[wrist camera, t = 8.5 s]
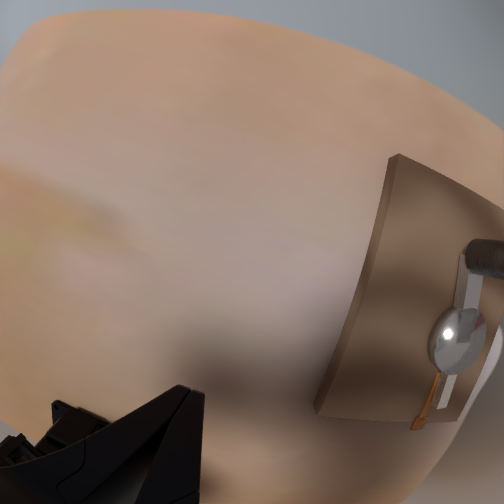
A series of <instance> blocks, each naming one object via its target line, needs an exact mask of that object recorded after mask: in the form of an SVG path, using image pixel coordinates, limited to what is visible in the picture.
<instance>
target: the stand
mask: <svg viewBox="0 0 504 504" xmlns="http://www.w3.org/2000/svg"><path fill="white" fill-rule="evenodd" d="M473 239H491V240H504V210H503V209H501V208H500V207H498V206H496V205H495V204H493V203H492V202H490V201H488V200H487V199H485V198H483V197H482V196H480V195H478V194H477V193H475V192H473V191H472V190H470V189H468V188H466V187H464V186H463V185H461V184H459V183H457V182H455V181H454V180H452V179H450V178H448V177H446V176H444V175H442V174H440V173H438V172H436V171H435V170H433V169H431V168H429V167H427V166H424V165H422V164H420V163H418V162H416V161H414V160H412V159H410V158H408V157H405V156H403V155H401V154H397V155H395V156H393V157H390V158H389V161H388V166H387V171H386V176H385V181H384V185H383V190H382V195H381V199H380V203H379V208H378V212H377V216H376V220H375V224H374V228H373V232H372V236H371V240H370V244H369V247H368V251H367V255H366V258H365V262H364V265H363V269H362V272H361V275H360V279H359V282H358V285H357V288H356V292H355V295H354V298H353V301H352V304H351V307H350V310H349V313H348V316H347V319H346V322H345V325H344V328H343V330H342V333H341V336H340V339H339V342H338V344H337V347H336V350H335V352H334V355H333V358H332V360H331V363H330V365H329V368H328V370H327V373H326V375H325V378H324V380H323V383H322V385H321V388H320V390H319V392H318V395H317V397H316V399H315V402H314V404H313V406H314V408H315V411H316V413H317V416H323V417H332V418H342V419H353V420H366V421H383V422H413V424H412V426H411V428H410V429H411V430H416V429H422V428H423V426H424V424H425V422H451V421H457V419H458V417H459V416H460V414H461V412H462V410H463V408H464V406H465V404H466V402H467V400H468V398H469V396H470V394H471V392H472V390H473V388H474V386H475V384H476V382H477V380H478V377H479V375H480V373H481V370H482V368H483V366H484V363H485V361H486V359H487V356H488V353H489V351H490V348H491V346H492V343H493V340H494V338H495V335H496V332H497V329H498V326H499V323H500V320H501V317H502V314H503V310H504V281H503V280H499V279H494V278H490V277H485V276H483V281H482V287H481V294H480V300H479V305H478V310H479V311H480V312H481V313H482V314H483V316H484V318H485V321H486V338H485V342H484V345H483V348H482V350H481V352H480V354H479V356H478V357H477V359H476V360H475V361H474V362H473V364H472V365H471V366H470V367H469V368H467V369H466V370H465V371H463V372H461V373H459V374H457V377H456V380H455V383H454V386H453V389H452V392H451V395H450V398H449V401H448V404H447V407H446V408H441V409H436V408H435V407H434V406H433V405H431V404H430V403H431V401H432V398H433V395H434V392H435V388H436V385H437V382H438V379H439V375H440V372H441V370H439V369H438V368H437V367H435V366H434V365H433V364H432V363H431V361H430V359H429V356H428V342H429V337H430V334H431V331H432V329H433V327H434V325H435V323H436V322H437V320H438V319H439V317H440V316H441V315H442V314H443V313H444V312H445V311H446V310H447V309H449V308H450V307H452V306H453V303H454V297H455V291H456V284H457V277H458V269H459V260H460V254H462V255H465V252H466V248H467V246H468V244H469V243H470V242H471V241H472V240H473Z"/></svg>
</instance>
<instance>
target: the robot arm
mask: <svg viewBox="0 0 504 504" xmlns="http://www.w3.org/2000/svg"><path fill="white" fill-rule="evenodd" d="M204 403H205V394H204V393H203V392H200V391H197V390H191V389H190V388H188V387H186V386H183V385H176V386H174V387H172V388H171V389H169V390H168V391H166V392H164V393H163V394H161V395H159V396H158V397H156V398H154V399H153V400H151V401H149V402H148V403H146V404H144V405H143V406H141V407H139V408H138V409H136V410H134V411H132V412H131V413H129V414H127V415H126V416H124V417H122V418H120V419H119V420H117V421H115V422H113V423H111V424H107V423H105V422H102V421H100V420H98V419H95V418H93V417H91V416H88V415H86V414H84V413H82V412H80V411H78V410H76V409H73V408H71V407H69V406H67V405H65V404H63V403H61V402H59V401H57V400H55V401H54V402H53V403H52V419H53V426H52V427H51V428H50V429H49V430H48V431H47V432H46V434H45V435H44V437H43V438H42V439H41V440H40V441H39V442H38V443H37V444H36V446H35V447H34V446H33V445H32V444H31V443H30V442H28V440H26V437H25V436H24V435H23V434H22V433H20V434H19V435H18V436H17V437H15V436H13V437H12V436H10V435H8V436H7V437H6V438H5V439H4V440H3V441H2V442H1V443H0V504H199V498H200V493H199V491H200V471H201V451H202V434H203V418H204ZM56 405H57V406H58V407H57V406H56Z"/></svg>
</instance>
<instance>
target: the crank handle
mask: <svg viewBox="0 0 504 504" xmlns="http://www.w3.org/2000/svg"><path fill="white" fill-rule="evenodd" d="M483 276H485V277H490V278H494V279H499V280H503V281H504V240H491V239H473V240H472V241H471V242H470V243H469V244H468V246H467V248H466V252H465V255H462V254H460V260H459V269H458V277H457V284H456V291H455V297H454V303H453V306H452V307H450V308H449V309H447V310H446V311H445V312H444V313H443V314H442V315H441V316H440V317H439V319H438V320H437V322H436V323H435V325H434V327H433V329H432V331H431V334H430V337H429V342H428V356H429V359H430V361H431V363H432V364H433V365H434V366H435V367H437V368H438V369H439V370H441V372H440V375H439V379H438V382H437V385H436V388H435V392H434V395H433V398H432V401H431V403H430V404H431V405H433V406H434V407H435V408H436V409H441V408H446V407H447V404H448V401H449V398H450V395H451V392H452V389H453V386H454V383H455V380H456V377H457V374H459V373H461V372H463V371H465V370H466V369H467V368H469V367H470V366H471V365H472V364H473V362H474V361H475V360H476V359H477V357H478V356H479V354H480V352H481V350H482V348H483V345H484V342H485V338H486V321H485V318H484V316H483V314H482V313H481V312H480V311H479V310H478V305H479V300H480V294H481V287H482V281H483Z"/></svg>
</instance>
